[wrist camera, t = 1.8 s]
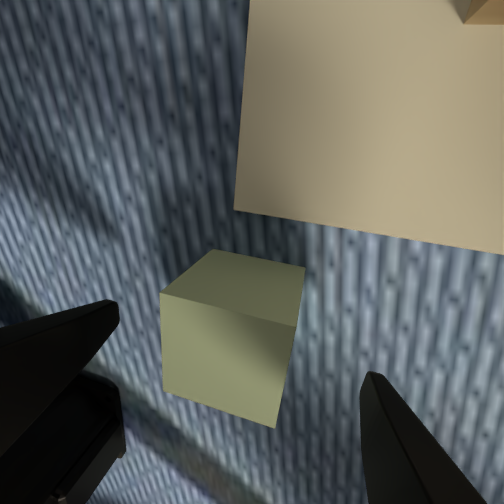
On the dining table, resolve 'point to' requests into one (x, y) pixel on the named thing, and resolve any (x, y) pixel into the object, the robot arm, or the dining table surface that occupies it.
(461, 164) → the felt mat
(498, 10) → the tower base block
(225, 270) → the sage cube
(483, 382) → the dining table surface
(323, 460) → the dining table surface
